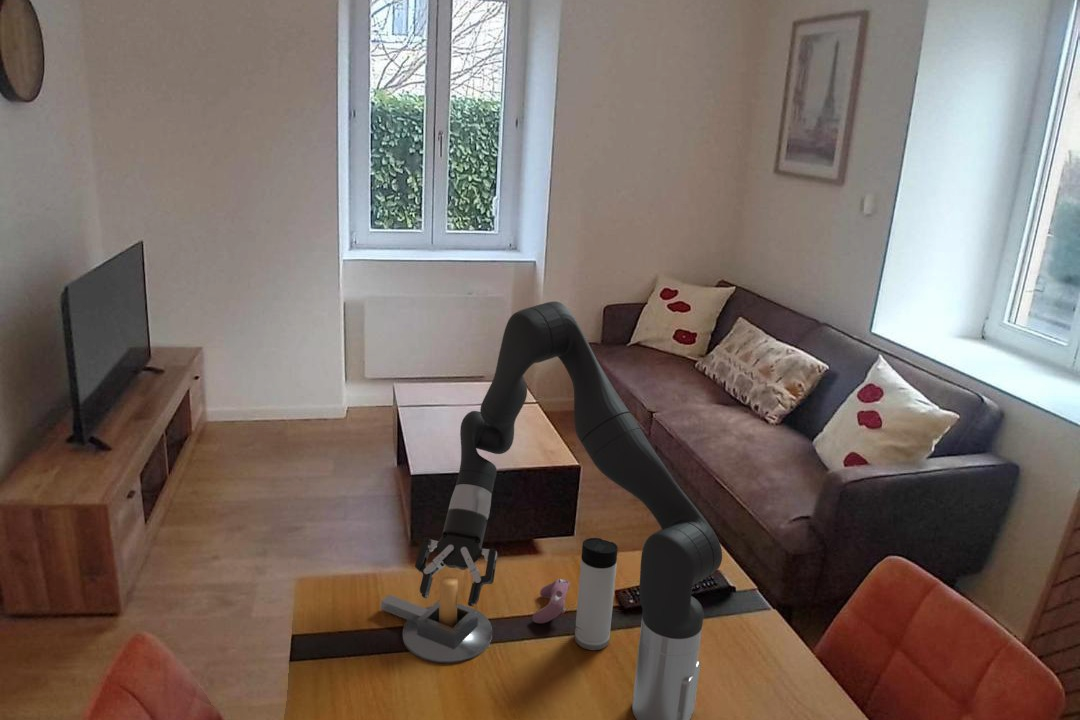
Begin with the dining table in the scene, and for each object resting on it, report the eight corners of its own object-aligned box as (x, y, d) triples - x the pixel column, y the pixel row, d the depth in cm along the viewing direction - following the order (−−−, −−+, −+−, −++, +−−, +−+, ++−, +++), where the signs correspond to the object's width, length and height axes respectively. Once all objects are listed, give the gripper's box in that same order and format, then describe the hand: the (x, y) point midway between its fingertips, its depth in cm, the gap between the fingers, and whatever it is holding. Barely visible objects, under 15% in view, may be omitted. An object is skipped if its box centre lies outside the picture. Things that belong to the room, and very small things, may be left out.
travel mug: (567, 644, 147) (575, 545, 141) (583, 625, 153) (591, 529, 146) (599, 656, 144) (609, 556, 138) (614, 636, 150) (624, 539, 144)
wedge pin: (460, 628, 148) (461, 580, 145) (450, 637, 146) (451, 588, 143) (445, 622, 150) (446, 574, 147) (435, 631, 147) (436, 583, 144)
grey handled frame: (508, 625, 151) (509, 606, 150) (461, 675, 138) (462, 655, 136) (410, 588, 160) (410, 571, 159) (357, 632, 147) (357, 613, 146)
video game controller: (550, 634, 152) (569, 608, 150) (529, 621, 152) (548, 595, 150) (558, 603, 161) (576, 578, 159) (538, 591, 161) (556, 566, 159)
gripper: (427, 501, 151) (404, 590, 144) (502, 513, 148) (482, 604, 141) (436, 513, 157) (414, 599, 150) (508, 525, 155) (489, 612, 148)
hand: (447, 601), depth 146 cm, fingers open, 8 cm apart
